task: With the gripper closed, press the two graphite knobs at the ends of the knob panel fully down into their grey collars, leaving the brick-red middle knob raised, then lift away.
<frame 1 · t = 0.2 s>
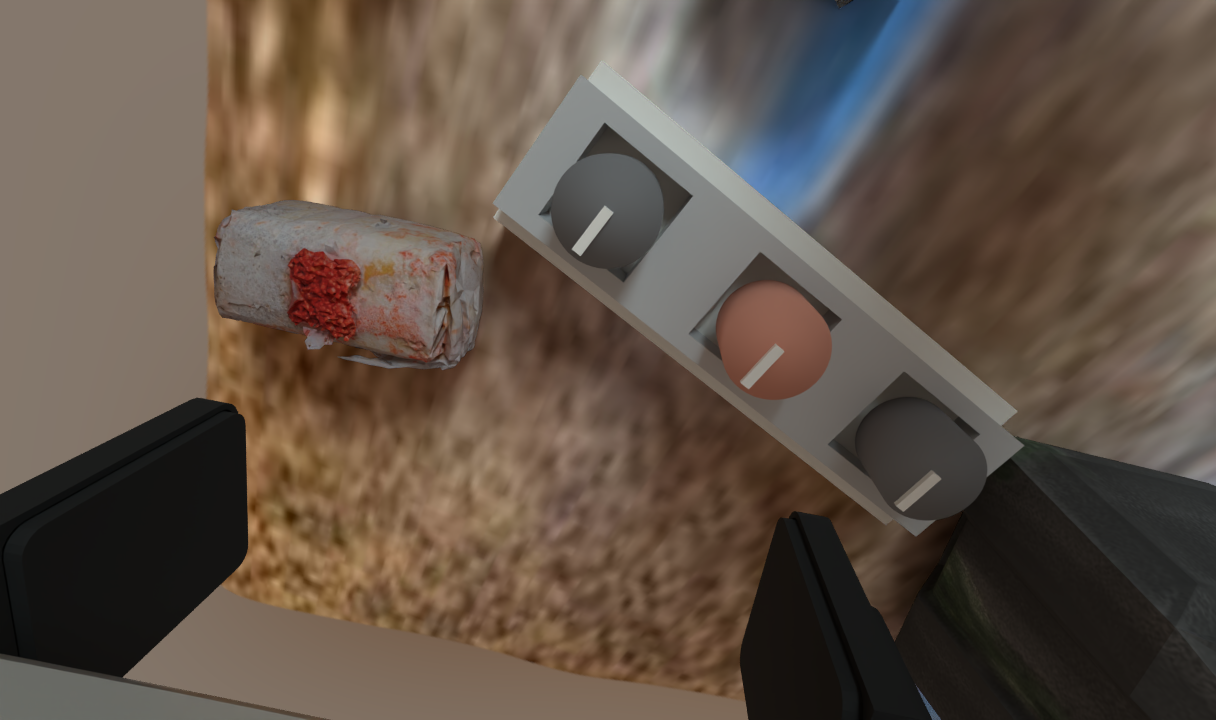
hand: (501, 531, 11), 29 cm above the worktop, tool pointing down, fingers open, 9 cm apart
bottle: (1037, 552, 42), on the worktop
knob b: (917, 457, 31), point 9 cm above the worktop, slide at 0.0 cm
knob a: (610, 209, 29), point 9 cm above the worktop, slide at 0.0 cm
knob mid: (770, 338, 30), point 9 cm above the worktop, slide at 0.0 cm
food item: (394, 269, 40), on the worktop
knob panel: (749, 299, 38), on the worktop
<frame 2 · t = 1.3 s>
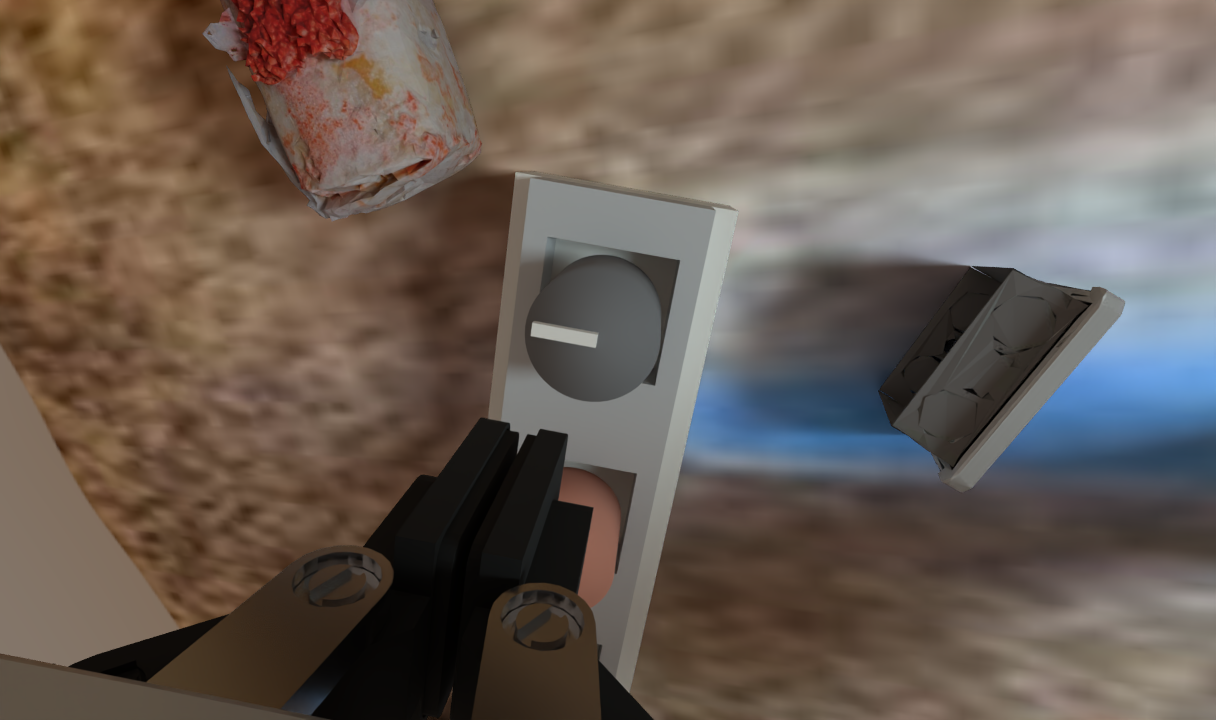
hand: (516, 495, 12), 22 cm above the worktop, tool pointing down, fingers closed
knob a: (597, 325, 24), point 9 cm above the worktop, slide at 0.0 cm
knob mid: (561, 540, 27), point 9 cm above the worktop, slide at 0.0 cm
food item: (388, 58, 30), on the worktop
knob panel: (585, 453, 36), on the worktop
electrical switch: (934, 342, 32), on the worktop
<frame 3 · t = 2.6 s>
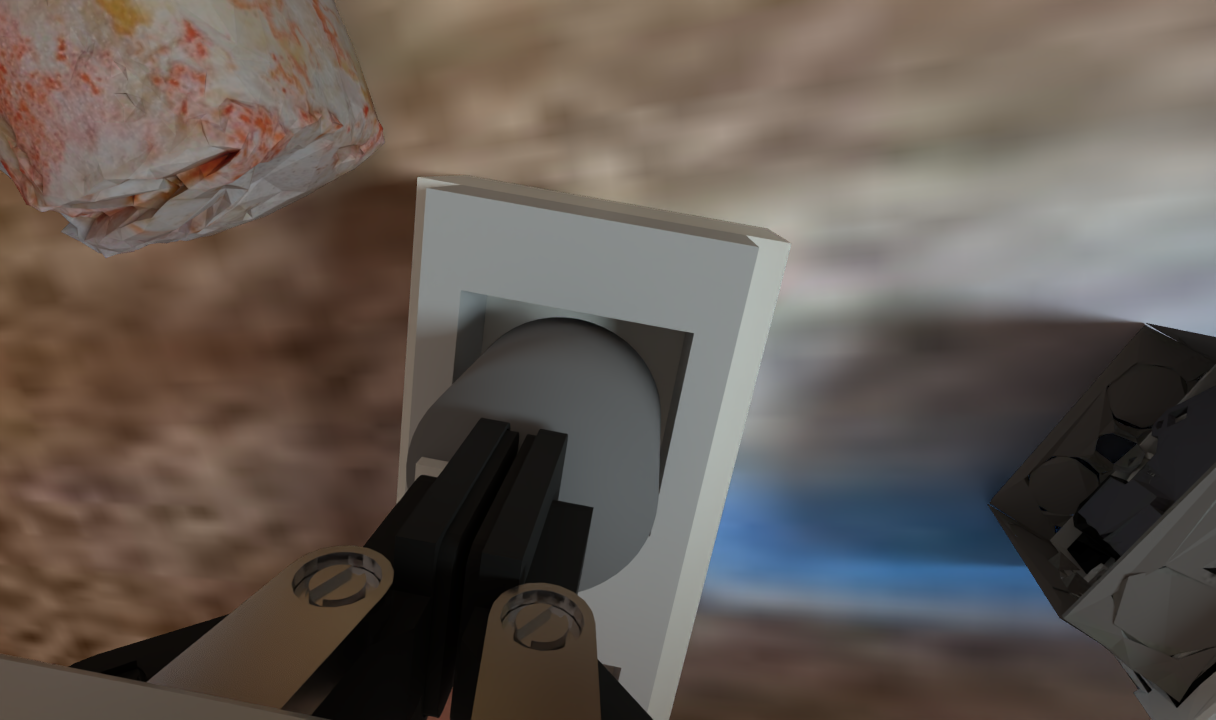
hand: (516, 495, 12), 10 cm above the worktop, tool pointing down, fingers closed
knob a: (547, 448, 14), point 8 cm above the worktop, slide at -0.5 cm, touching gripper
knob panel: (552, 582, 25), on the worktop
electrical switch: (1077, 435, 21), on the worktop
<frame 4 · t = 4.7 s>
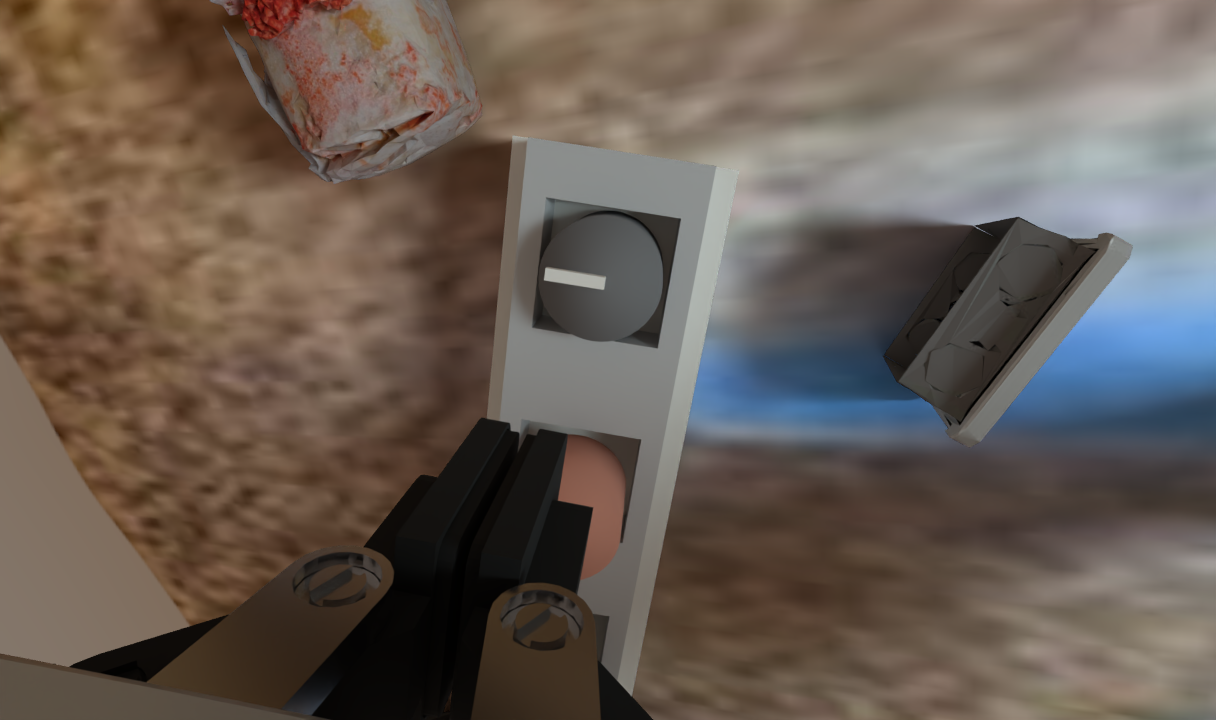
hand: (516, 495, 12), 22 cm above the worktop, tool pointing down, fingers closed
knob a: (604, 273, 26), point 6 cm above the worktop, slide at -2.5 cm, touching knob panel
knob mid: (566, 506, 27), point 9 cm above the worktop, slide at 0.0 cm
food item: (385, 23, 30), on the worktop
knob panel: (589, 427, 35), on the worktop
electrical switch: (939, 305, 32), on the worktop
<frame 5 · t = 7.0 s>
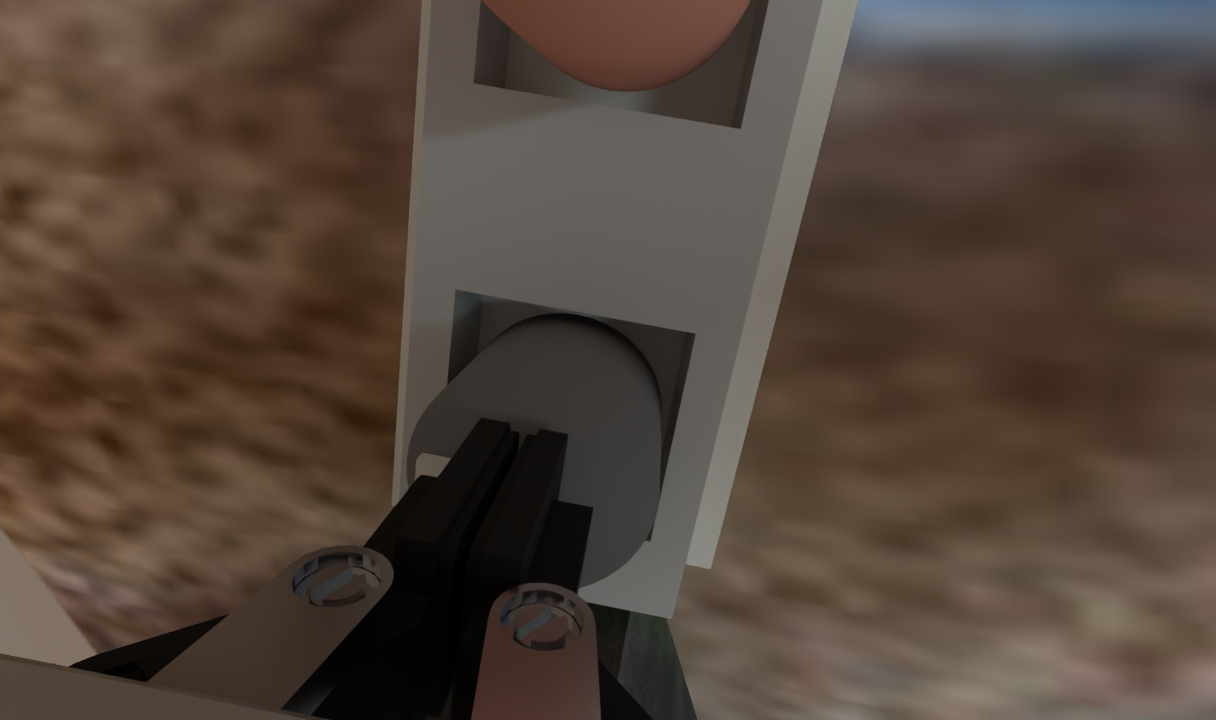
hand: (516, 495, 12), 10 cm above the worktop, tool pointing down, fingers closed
bottle: (508, 709, 27), on the worktop
knob b: (548, 444, 14), point 8 cm above the worktop, slide at -0.9 cm, touching gripper
knob panel: (642, 23, 18), on the worktop
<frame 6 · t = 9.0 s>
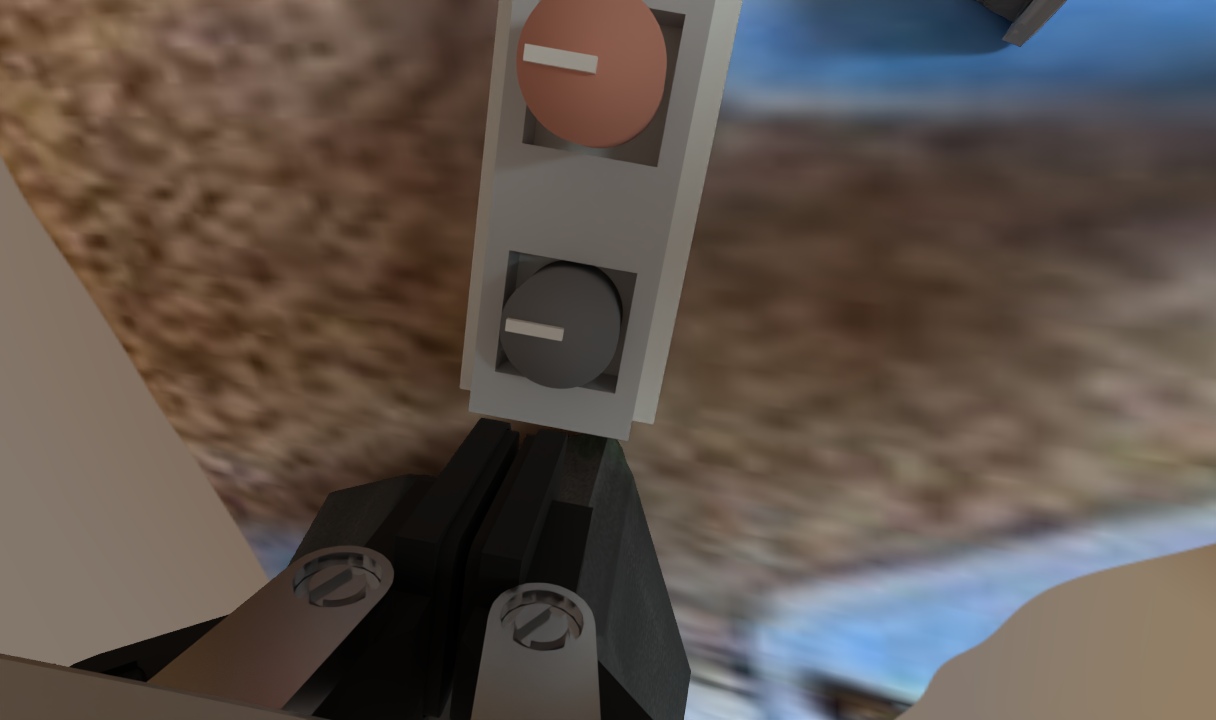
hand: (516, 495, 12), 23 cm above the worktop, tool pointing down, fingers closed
bottle: (523, 552, 39), on the worktop
knob b: (564, 322, 28), point 6 cm above the worktop, slide at -2.5 cm, touching knob panel
knob mid: (595, 73, 22), point 9 cm above the worktop, slide at 0.0 cm
knob panel: (611, 98, 30), on the worktop
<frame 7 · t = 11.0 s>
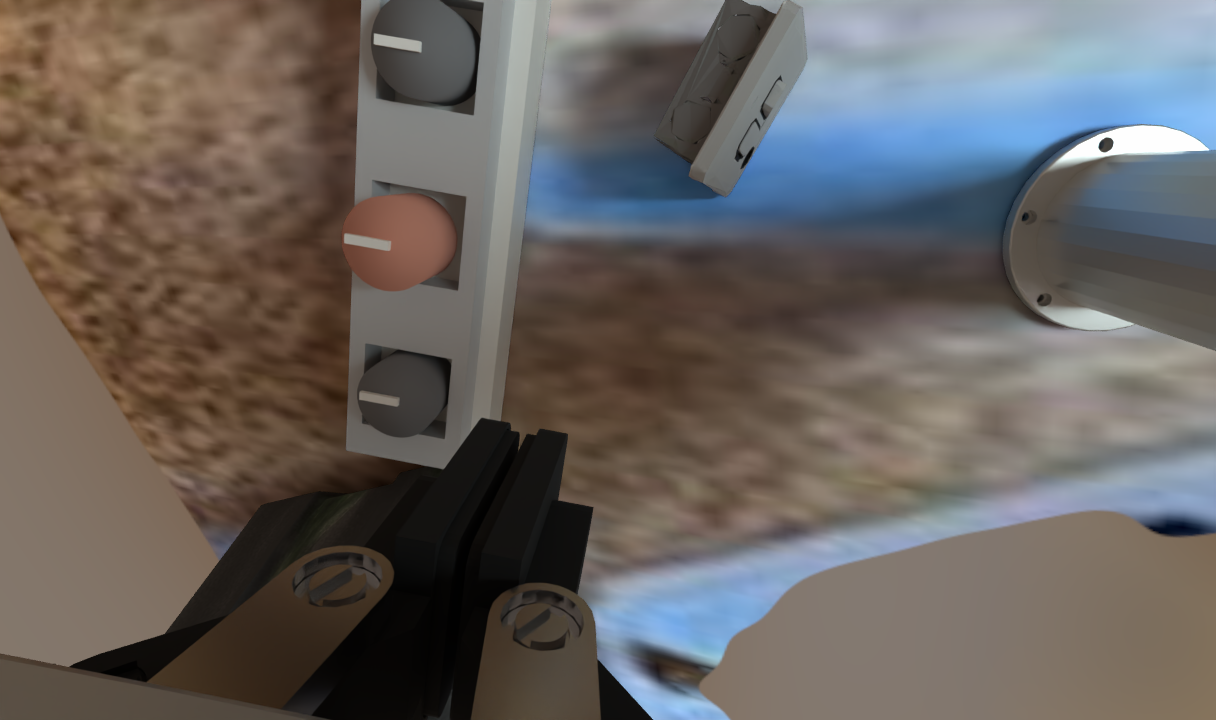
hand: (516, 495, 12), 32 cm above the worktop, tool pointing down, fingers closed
bottle: (413, 549, 51), on the worktop
knob b: (407, 390, 40), point 6 cm above the worktop, slide at -2.5 cm, touching knob panel
knob a: (430, 53, 34), point 6 cm above the worktop, slide at -2.5 cm, touching knob panel
knob mid: (401, 240, 34), point 9 cm above the worktop, slide at 0.0 cm
knob panel: (451, 226, 43), on the worktop
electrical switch: (726, 114, 39), on the worktop
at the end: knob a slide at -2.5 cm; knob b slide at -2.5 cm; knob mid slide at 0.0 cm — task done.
